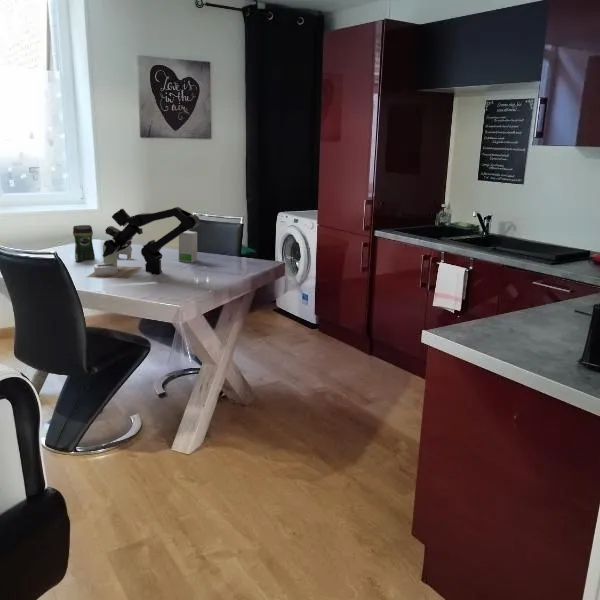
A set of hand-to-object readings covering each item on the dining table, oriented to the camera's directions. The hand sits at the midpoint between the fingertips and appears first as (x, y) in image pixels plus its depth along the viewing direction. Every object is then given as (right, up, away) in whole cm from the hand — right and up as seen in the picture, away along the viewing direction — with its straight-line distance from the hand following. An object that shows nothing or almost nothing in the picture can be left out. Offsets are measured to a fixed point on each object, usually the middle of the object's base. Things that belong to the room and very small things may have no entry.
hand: (107, 254), depth 278 cm
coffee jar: (-18, -2, +20) cm, 28 cm away
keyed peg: (+1, -6, +2) cm, 7 cm away
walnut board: (+6, -9, -5) cm, 13 cm away
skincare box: (+34, -1, +28) cm, 44 cm away
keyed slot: (+3, -10, -10) cm, 14 cm away
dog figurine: (-2, 0, +28) cm, 28 cm away
